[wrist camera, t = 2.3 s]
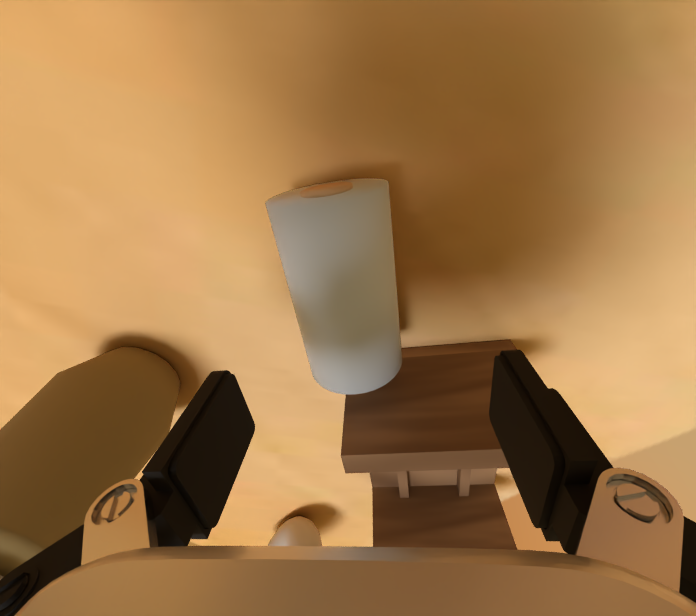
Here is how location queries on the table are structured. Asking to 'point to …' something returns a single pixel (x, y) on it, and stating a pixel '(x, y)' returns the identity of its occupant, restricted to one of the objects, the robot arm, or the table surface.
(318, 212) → the roll
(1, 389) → the table surface
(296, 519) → the donut
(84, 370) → the squeeze bottle
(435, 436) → the cradle
